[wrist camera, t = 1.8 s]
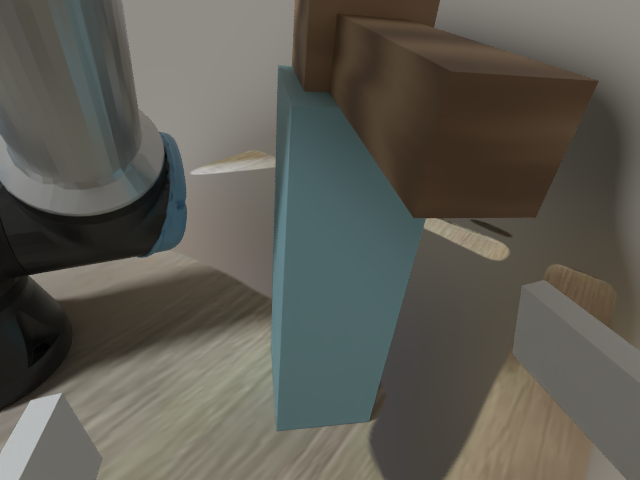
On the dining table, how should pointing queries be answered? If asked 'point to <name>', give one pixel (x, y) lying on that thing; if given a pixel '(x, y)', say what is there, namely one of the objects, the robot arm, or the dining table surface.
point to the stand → (332, 263)
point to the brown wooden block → (440, 106)
